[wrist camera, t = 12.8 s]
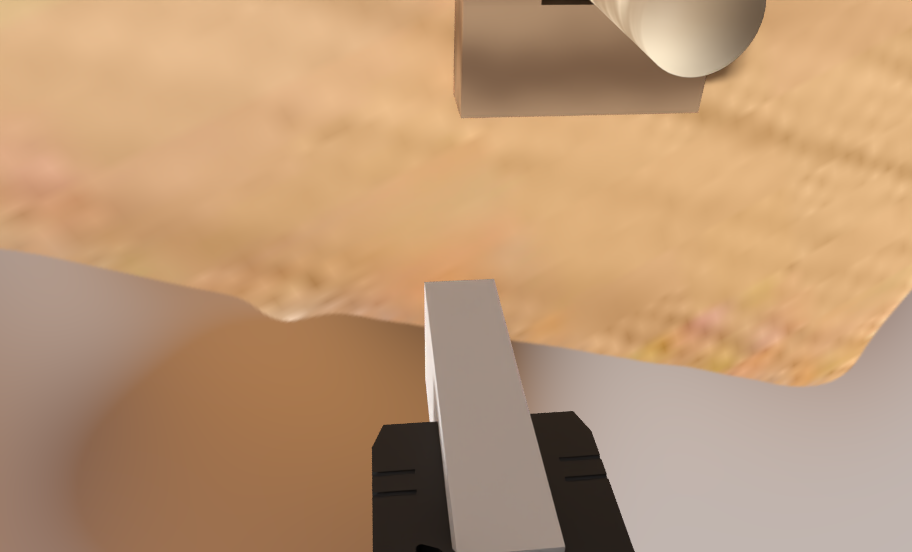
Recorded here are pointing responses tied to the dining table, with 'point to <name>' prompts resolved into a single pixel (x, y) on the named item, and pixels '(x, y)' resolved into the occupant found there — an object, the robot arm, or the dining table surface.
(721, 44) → the peg
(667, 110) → the board
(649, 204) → the dining table surface
